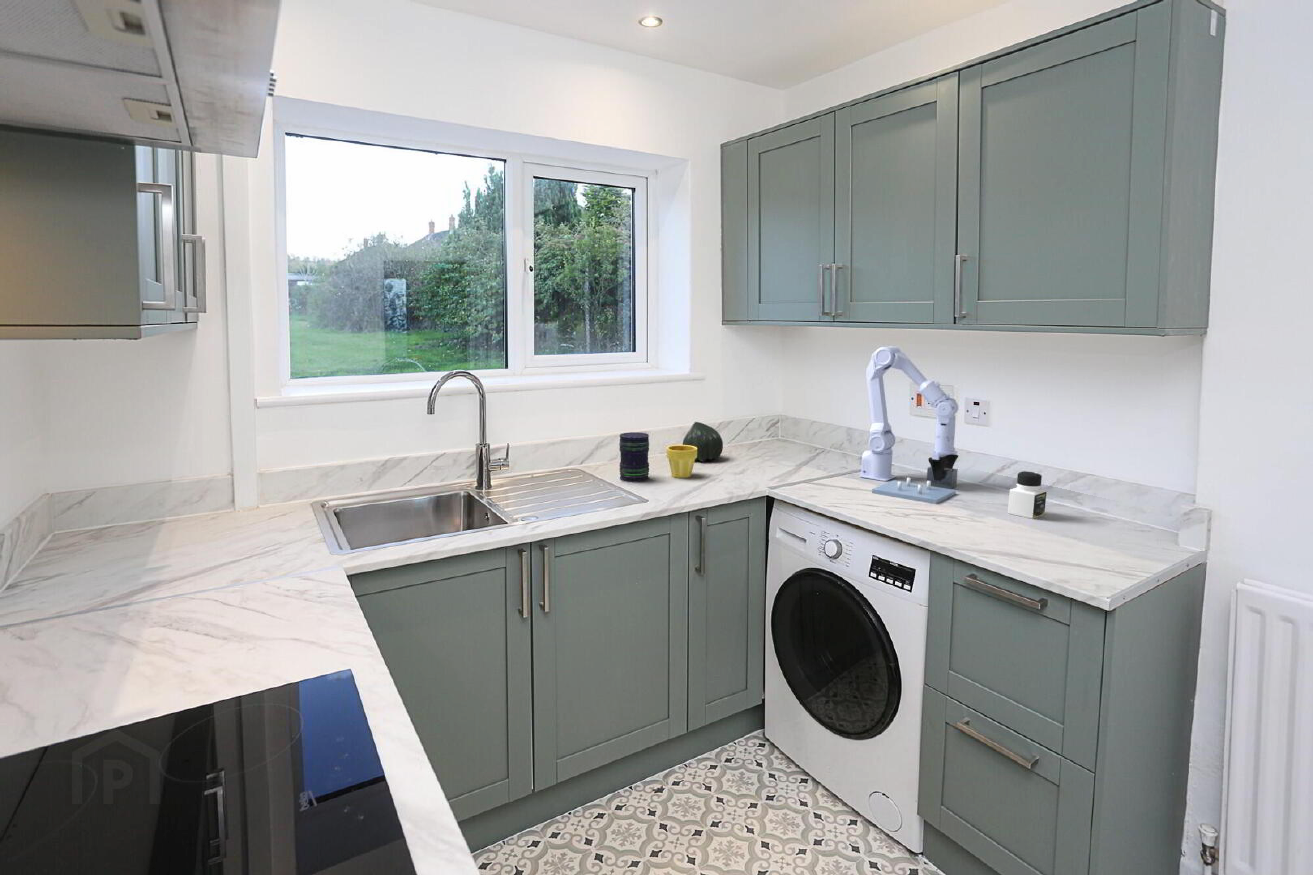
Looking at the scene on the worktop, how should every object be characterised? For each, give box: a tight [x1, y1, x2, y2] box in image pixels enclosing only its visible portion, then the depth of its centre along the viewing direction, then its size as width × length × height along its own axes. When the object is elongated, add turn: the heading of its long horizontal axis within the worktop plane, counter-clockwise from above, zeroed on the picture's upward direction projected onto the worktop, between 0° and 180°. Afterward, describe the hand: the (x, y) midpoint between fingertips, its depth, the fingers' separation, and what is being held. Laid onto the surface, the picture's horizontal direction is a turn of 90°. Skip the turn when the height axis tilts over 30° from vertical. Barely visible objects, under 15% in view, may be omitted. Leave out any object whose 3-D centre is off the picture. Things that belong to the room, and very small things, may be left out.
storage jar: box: [619, 432, 650, 483], centre depth 250 cm, size 10×10×15 cm
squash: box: [682, 421, 724, 462], centre depth 282 cm, size 14×15×15 cm
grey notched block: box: [925, 466, 959, 490], centre depth 243 cm, size 8×4×6 cm, turn 50°
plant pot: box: [666, 444, 697, 479], centre depth 256 cm, size 10×10×10 cm
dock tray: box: [871, 477, 957, 505], centre depth 233 cm, size 20×16×4 cm
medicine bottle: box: [1007, 470, 1047, 520], centre depth 210 cm, size 7×7×12 cm
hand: (942, 478), depth 243 cm, fingers open, 7 cm apart
